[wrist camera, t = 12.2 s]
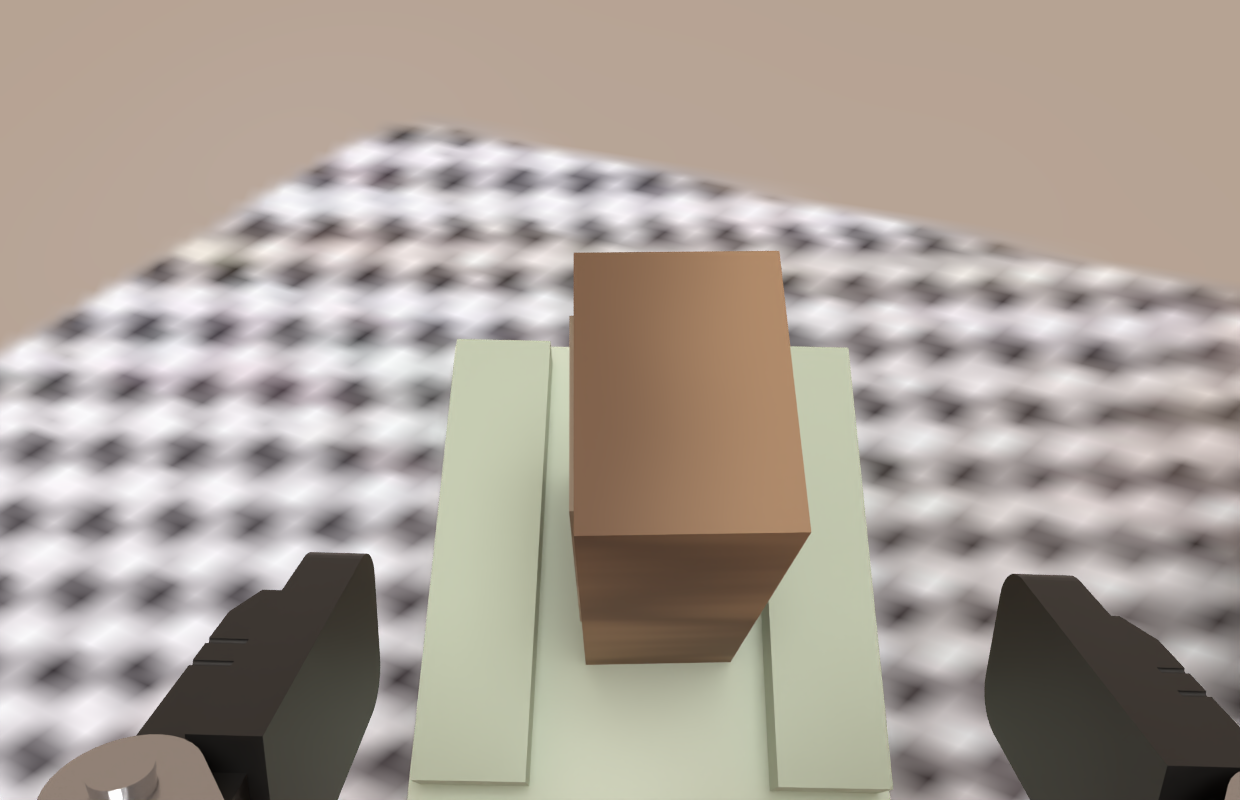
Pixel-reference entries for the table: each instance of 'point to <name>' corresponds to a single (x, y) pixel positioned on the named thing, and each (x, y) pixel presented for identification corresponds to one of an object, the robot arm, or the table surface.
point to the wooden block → (680, 452)
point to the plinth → (634, 693)
